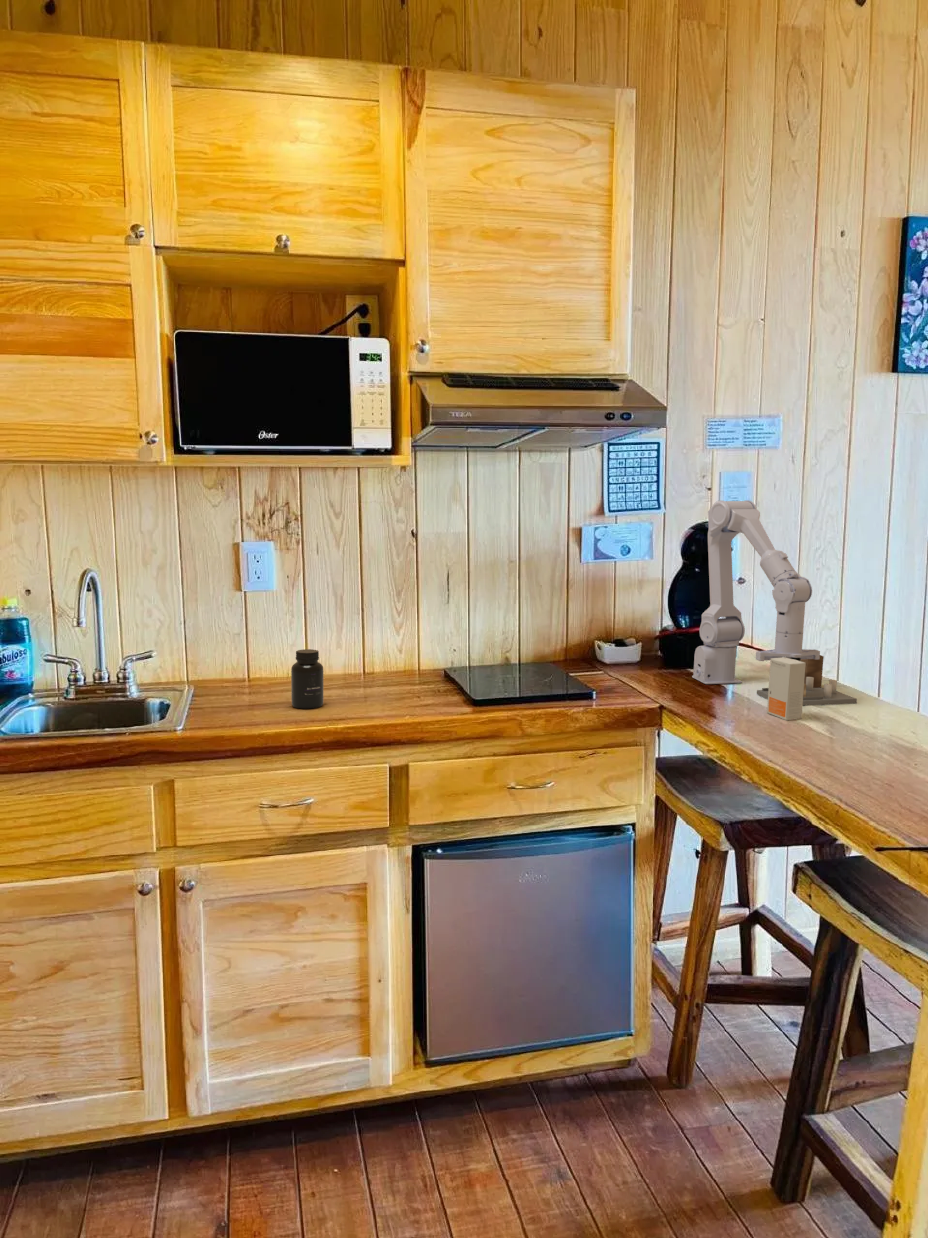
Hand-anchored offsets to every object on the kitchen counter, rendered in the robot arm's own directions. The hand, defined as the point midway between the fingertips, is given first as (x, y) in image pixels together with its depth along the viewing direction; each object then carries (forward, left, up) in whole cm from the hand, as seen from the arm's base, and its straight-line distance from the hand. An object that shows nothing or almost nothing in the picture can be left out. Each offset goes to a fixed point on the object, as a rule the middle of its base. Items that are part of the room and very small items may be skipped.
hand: (785, 691), depth 195 cm
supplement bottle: (-106, +11, -2) cm, 106 cm away
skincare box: (-8, -13, -2) cm, 15 cm away
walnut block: (+12, +10, -2) cm, 16 cm away
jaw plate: (+2, 0, -1) cm, 2 cm away
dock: (+5, 0, -2) cm, 5 cm away
